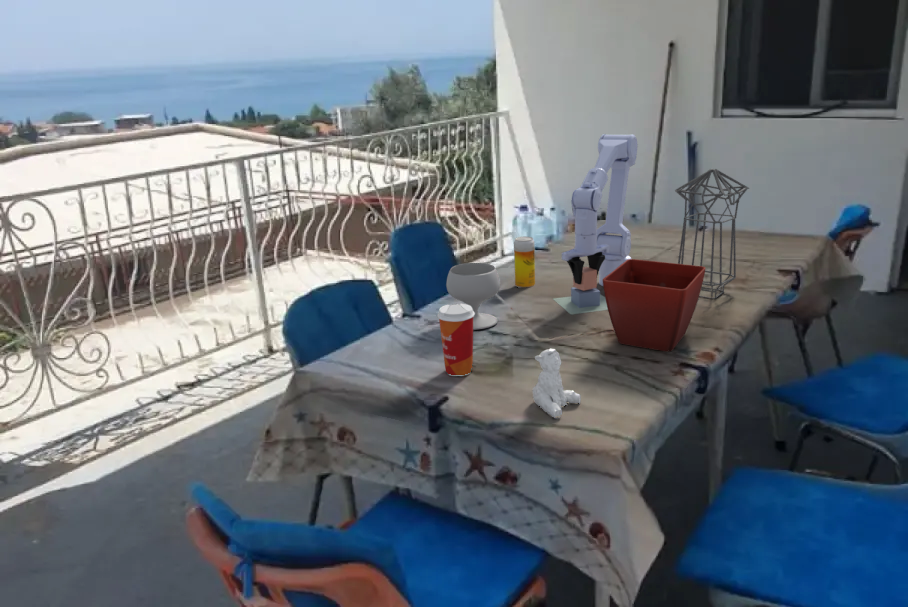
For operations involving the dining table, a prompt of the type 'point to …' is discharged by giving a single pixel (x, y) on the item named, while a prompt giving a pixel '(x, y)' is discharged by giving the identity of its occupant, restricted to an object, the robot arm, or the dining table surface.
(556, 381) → the seated beast figurine
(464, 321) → the coffee cup
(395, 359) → the dining table surface
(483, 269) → the chalice
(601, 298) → the plate
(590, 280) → the top brick
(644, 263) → the plant pot
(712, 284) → the geometric lantern
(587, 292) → the base brick
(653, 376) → the dining table surface
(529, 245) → the beer can
